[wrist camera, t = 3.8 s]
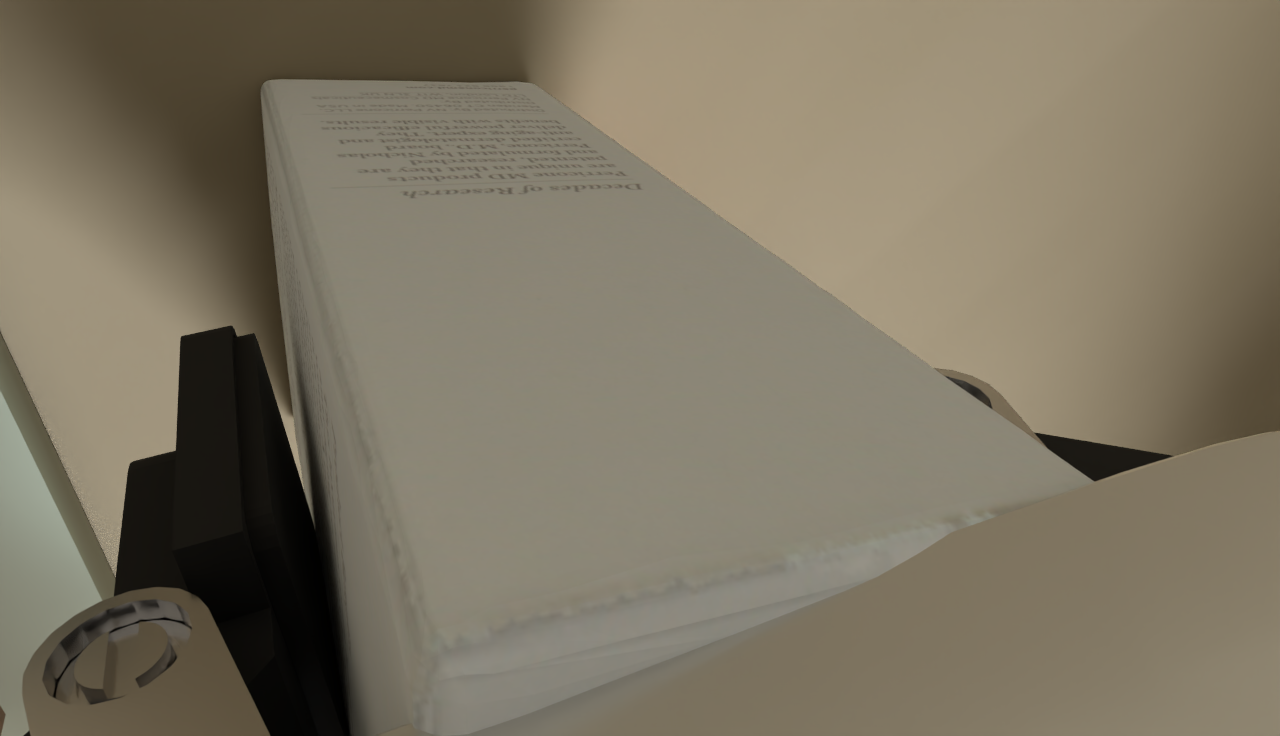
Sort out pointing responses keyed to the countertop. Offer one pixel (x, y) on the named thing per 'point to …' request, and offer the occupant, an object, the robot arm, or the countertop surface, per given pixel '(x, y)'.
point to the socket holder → (37, 544)
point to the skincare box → (577, 407)
